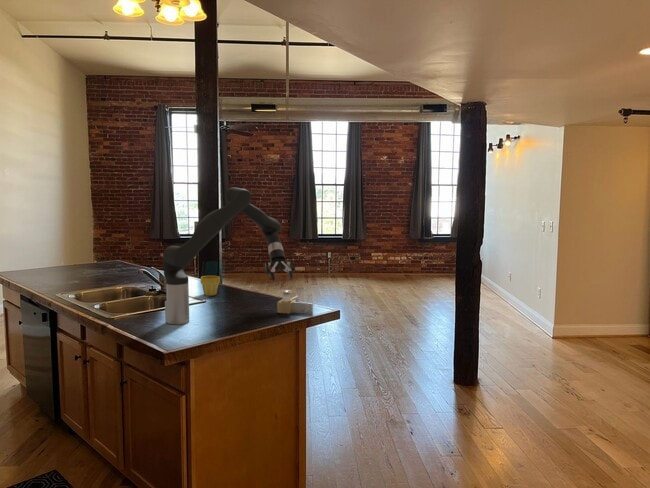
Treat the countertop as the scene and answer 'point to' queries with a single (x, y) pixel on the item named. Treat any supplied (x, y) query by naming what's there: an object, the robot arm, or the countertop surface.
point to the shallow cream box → (294, 307)
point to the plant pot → (210, 284)
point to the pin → (286, 295)
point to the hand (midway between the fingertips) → (282, 279)
